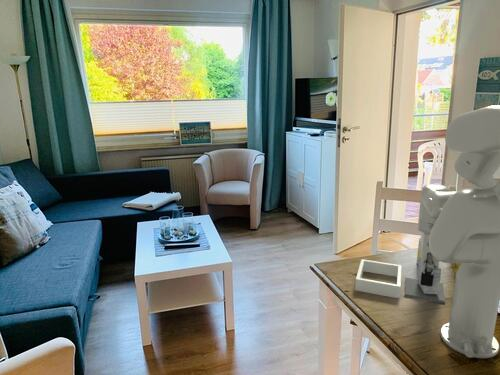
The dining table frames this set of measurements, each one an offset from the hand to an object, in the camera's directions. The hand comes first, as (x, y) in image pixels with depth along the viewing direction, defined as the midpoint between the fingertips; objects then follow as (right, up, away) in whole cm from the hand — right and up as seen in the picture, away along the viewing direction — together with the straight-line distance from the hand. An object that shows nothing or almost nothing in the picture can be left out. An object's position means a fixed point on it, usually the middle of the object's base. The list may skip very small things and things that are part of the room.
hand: (425, 278), depth 113 cm
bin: (-12, -3, +6) cm, 14 cm away
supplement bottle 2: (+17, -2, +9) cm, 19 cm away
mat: (0, -4, +1) cm, 5 cm away
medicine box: (+1, -3, +1) cm, 4 cm away
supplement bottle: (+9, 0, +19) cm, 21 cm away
